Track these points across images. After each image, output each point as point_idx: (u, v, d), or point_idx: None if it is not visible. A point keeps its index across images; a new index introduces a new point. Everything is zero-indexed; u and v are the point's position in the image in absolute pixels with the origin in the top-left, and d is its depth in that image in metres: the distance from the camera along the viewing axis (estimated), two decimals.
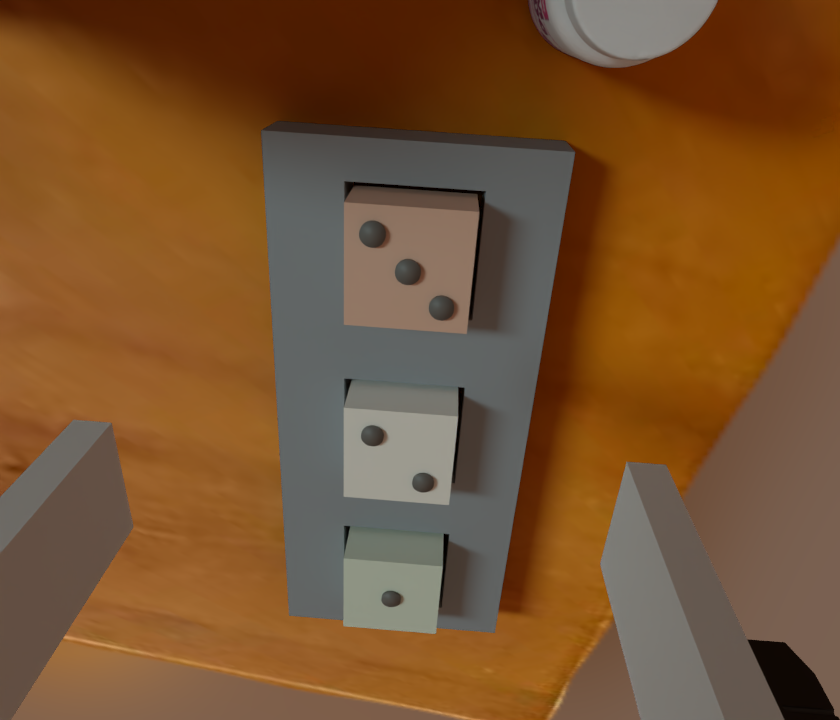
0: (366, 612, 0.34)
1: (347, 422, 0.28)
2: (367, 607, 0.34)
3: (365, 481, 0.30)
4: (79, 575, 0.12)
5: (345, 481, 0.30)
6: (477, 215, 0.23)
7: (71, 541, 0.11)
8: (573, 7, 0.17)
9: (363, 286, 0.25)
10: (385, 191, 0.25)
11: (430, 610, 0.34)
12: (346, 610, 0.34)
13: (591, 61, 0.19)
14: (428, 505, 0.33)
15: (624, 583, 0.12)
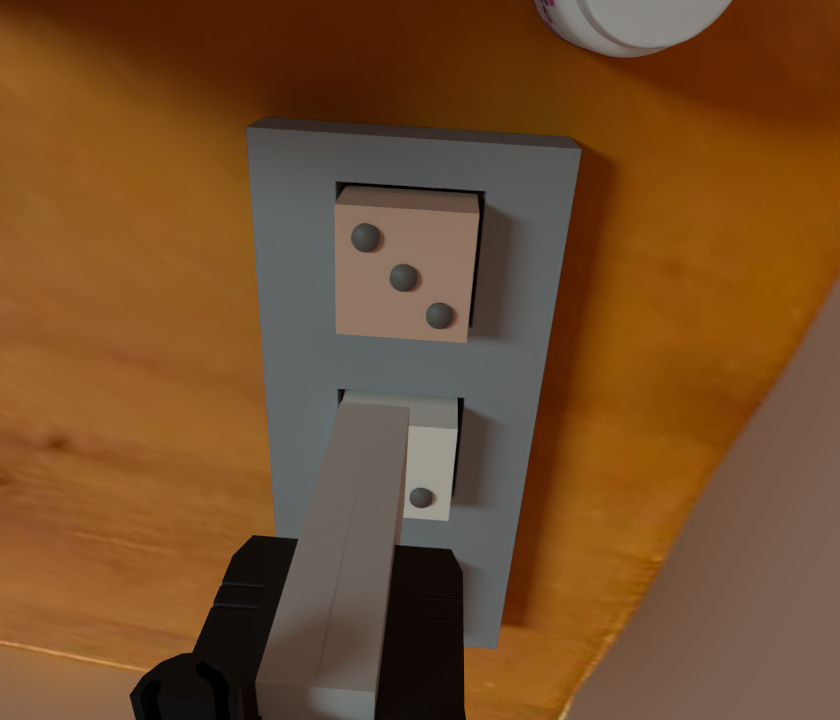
0: None
1: None
2: None
3: None
4: None
5: None
6: (477, 217, 0.22)
7: None
8: None
9: (355, 293, 0.24)
10: (379, 191, 0.24)
11: None
12: None
13: (601, 50, 0.18)
14: (426, 519, 0.31)
15: None
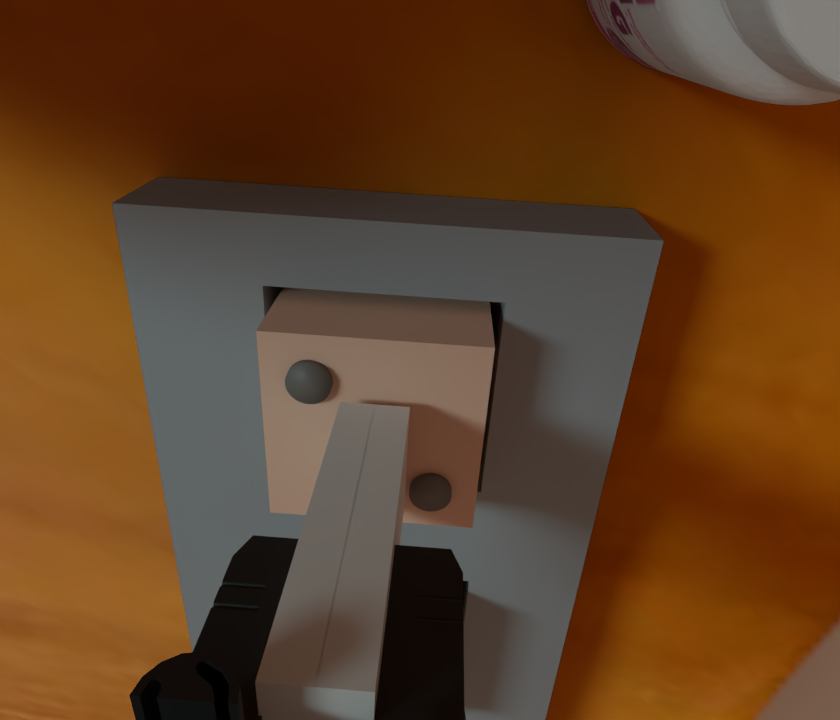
0: None
1: None
2: None
3: None
4: None
5: None
6: (491, 353, 0.13)
7: None
8: None
9: (298, 459, 0.15)
10: (335, 296, 0.15)
11: None
12: None
13: (745, 92, 0.09)
14: None
15: None
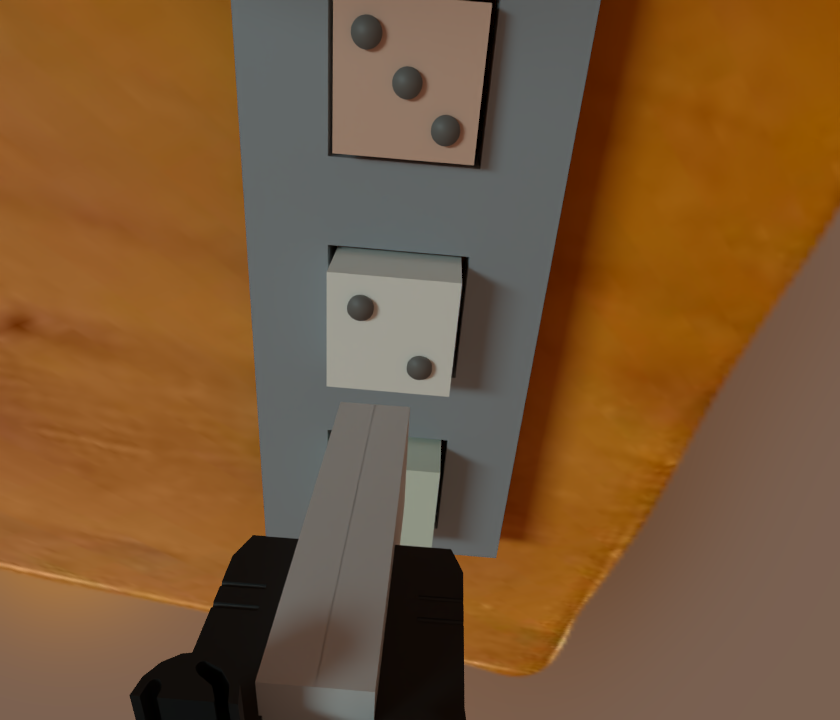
0: None
1: (330, 290, 0.24)
2: None
3: (352, 367, 0.25)
4: None
5: (328, 366, 0.25)
6: (490, 8, 0.20)
7: None
8: None
9: (355, 103, 0.22)
10: None
11: (425, 526, 0.30)
12: None
13: None
14: (424, 405, 0.29)
15: None
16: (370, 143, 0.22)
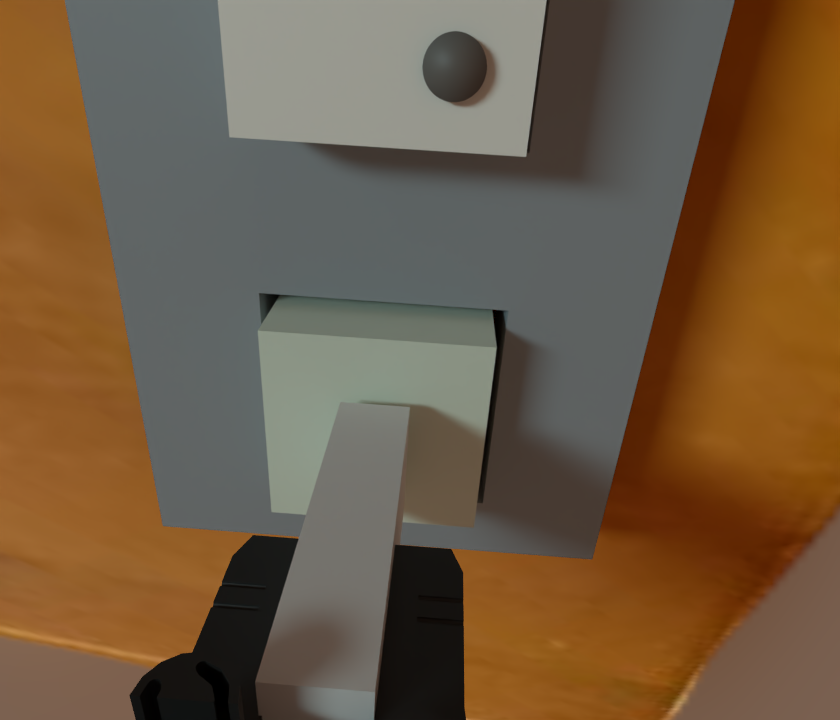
0: None
1: None
2: None
3: (286, 75, 0.10)
4: None
5: (229, 77, 0.10)
6: None
7: None
8: None
9: None
10: None
11: (463, 469, 0.15)
12: (275, 473, 0.15)
13: None
14: (460, 226, 0.13)
15: None
16: None
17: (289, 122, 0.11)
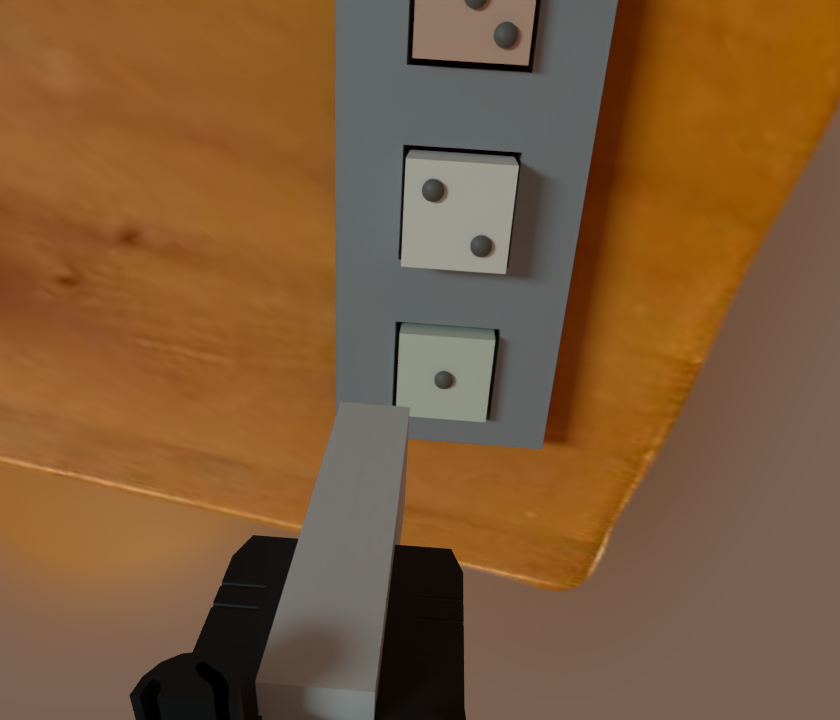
0: (419, 398, 0.35)
1: (408, 175, 0.29)
2: (420, 392, 0.35)
3: (423, 247, 0.30)
4: None
5: (403, 247, 0.30)
6: None
7: None
8: None
9: (432, 14, 0.27)
10: None
11: (481, 394, 0.35)
12: (399, 396, 0.35)
13: None
14: (480, 295, 0.33)
15: None
16: (443, 48, 0.27)
17: (422, 262, 0.30)
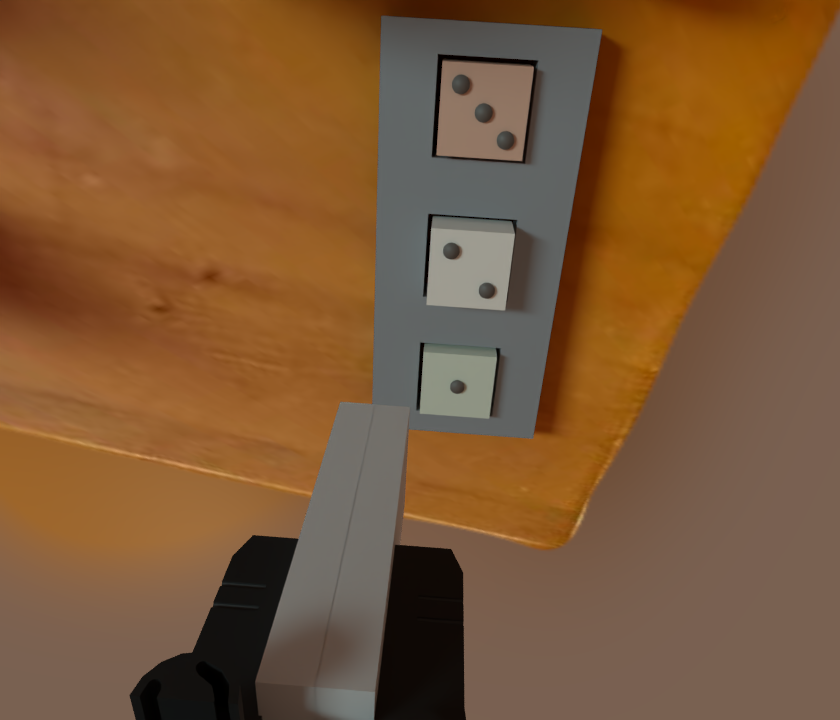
0: (438, 400, 0.45)
1: (433, 240, 0.38)
2: (438, 396, 0.45)
3: (443, 291, 0.40)
4: None
5: (428, 291, 0.40)
6: (532, 69, 0.35)
7: None
8: None
9: (451, 125, 0.36)
10: (466, 60, 0.37)
11: (486, 397, 0.45)
12: (422, 399, 0.45)
13: None
14: (486, 322, 0.43)
15: None
16: (459, 149, 0.37)
17: (442, 301, 0.40)
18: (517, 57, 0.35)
